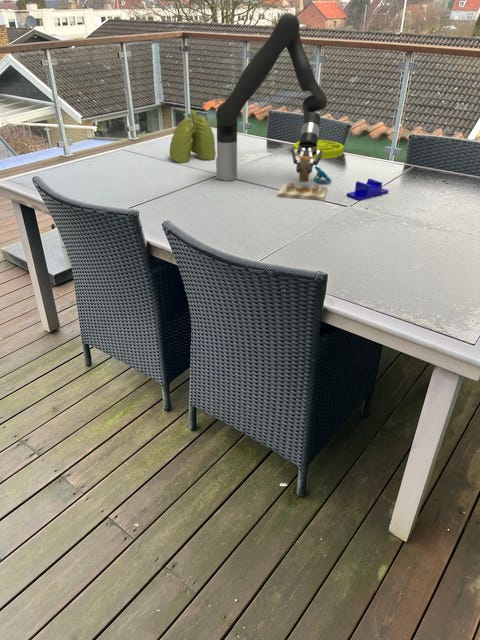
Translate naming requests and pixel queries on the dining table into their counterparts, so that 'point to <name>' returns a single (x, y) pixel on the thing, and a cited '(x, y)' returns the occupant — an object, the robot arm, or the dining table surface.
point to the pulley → (326, 149)
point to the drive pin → (304, 168)
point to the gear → (321, 175)
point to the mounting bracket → (367, 190)
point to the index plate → (302, 191)
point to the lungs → (192, 139)
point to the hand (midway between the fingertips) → (303, 172)
